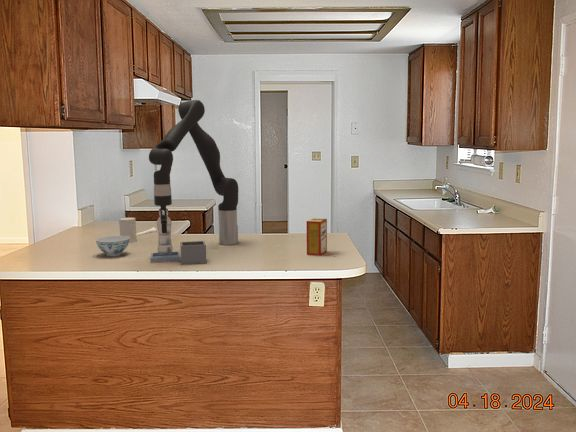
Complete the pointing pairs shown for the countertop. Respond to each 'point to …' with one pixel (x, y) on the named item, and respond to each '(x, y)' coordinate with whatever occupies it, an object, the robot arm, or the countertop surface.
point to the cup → (128, 228)
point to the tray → (165, 257)
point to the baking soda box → (316, 236)
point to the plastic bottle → (164, 238)
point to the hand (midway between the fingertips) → (164, 231)
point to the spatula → (147, 231)
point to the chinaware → (112, 244)
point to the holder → (193, 252)
